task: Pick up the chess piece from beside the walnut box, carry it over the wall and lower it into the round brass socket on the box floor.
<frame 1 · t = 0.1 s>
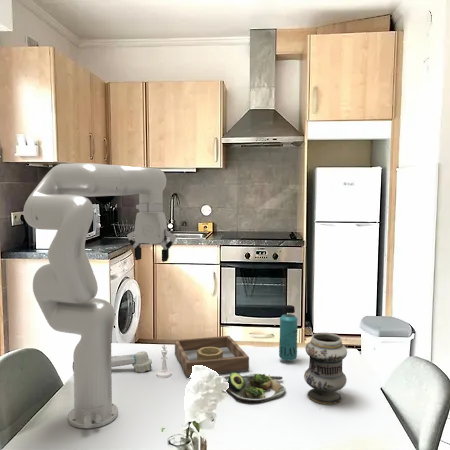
hand: (151, 260, 143), 37 cm above the table, tool pointing down, fingers open, 9 cm apart
chess piece: (164, 375, 142), on the table
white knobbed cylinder: (113, 372, 145), on the table
avocado toast plate: (252, 391, 132), on the table
apothecary jar: (324, 397, 127), on the table
socket box: (209, 362, 153), on the table
beverage bottle: (287, 361, 154), on the table
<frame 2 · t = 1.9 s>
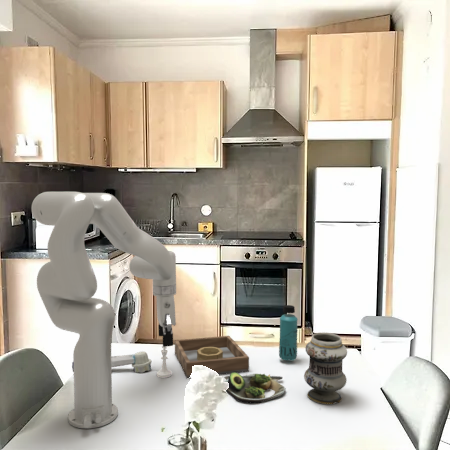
hand: (165, 340, 142), 11 cm above the table, tool pointing down, fingers open, 9 cm apart
nothing on the table moved.
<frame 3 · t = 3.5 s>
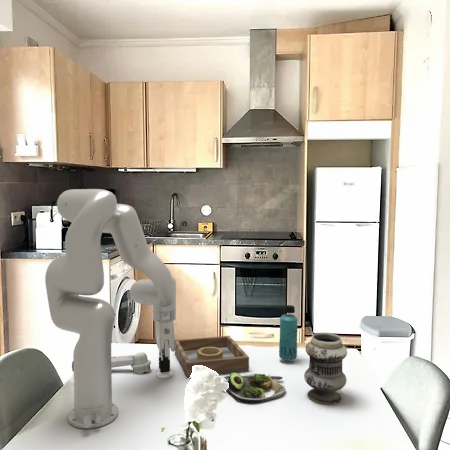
hand: (164, 369, 142), 2 cm above the table, tool pointing down, fingers closed on chess piece
chess piece: (164, 375, 142), on the table, touching gripper
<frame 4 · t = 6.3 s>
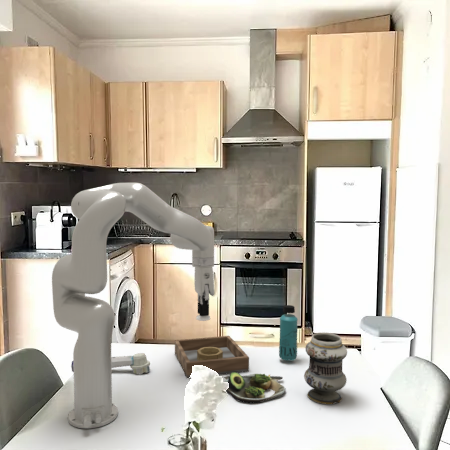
hand: (203, 314, 150), 18 cm above the table, tool pointing down, fingers closed on chess piece
chess piece: (203, 319, 150), point 16 cm above the table, touching gripper
everything else where it was.
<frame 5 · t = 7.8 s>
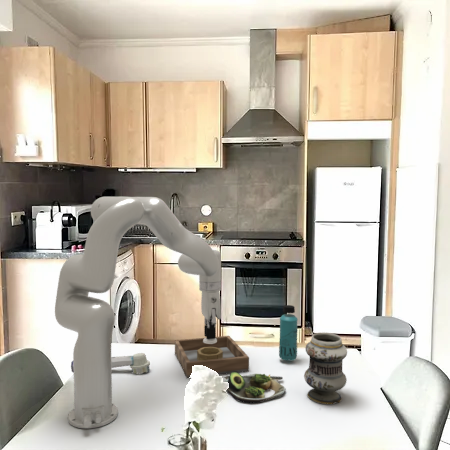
hand: (209, 337, 153), 9 cm above the table, tool pointing down, fingers closed on chess piece
chess piece: (210, 342, 153), point 7 cm above the table, touching gripper
everything else where it was.
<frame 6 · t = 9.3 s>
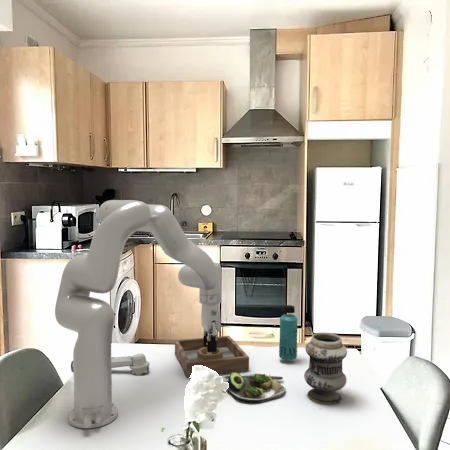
hand: (209, 348, 153), 5 cm above the table, tool pointing down, fingers open, 4 cm apart
chess piece: (209, 360, 153), point 1 cm above the table, touching socket box
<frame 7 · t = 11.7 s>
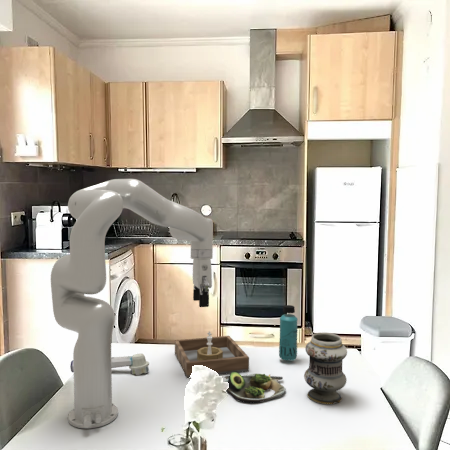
hand: (200, 303, 150), 22 cm above the table, tool pointing down, fingers open, 9 cm apart
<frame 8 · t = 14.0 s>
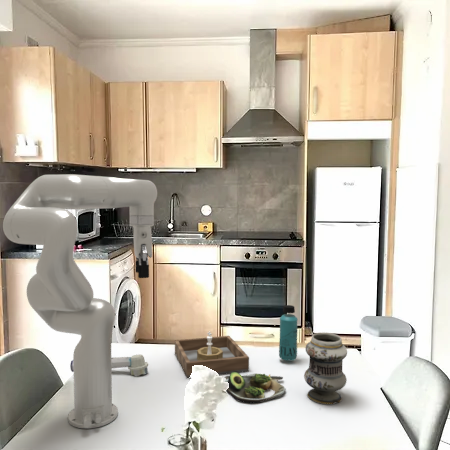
hand: (142, 274, 138), 33 cm above the table, tool pointing down, fingers open, 9 cm apart
at the end: chess piece 0.2 cm off-centre on the socket box, point 0.8 cm above the socket box's base; chess piece tilted 0°; the gripper is holding nothing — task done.
